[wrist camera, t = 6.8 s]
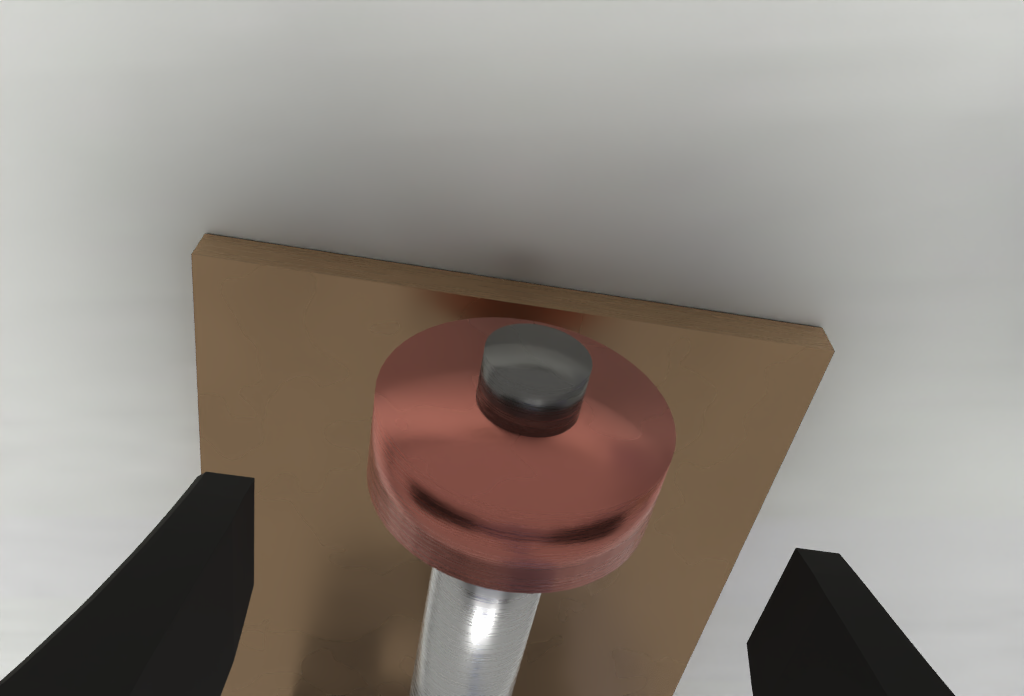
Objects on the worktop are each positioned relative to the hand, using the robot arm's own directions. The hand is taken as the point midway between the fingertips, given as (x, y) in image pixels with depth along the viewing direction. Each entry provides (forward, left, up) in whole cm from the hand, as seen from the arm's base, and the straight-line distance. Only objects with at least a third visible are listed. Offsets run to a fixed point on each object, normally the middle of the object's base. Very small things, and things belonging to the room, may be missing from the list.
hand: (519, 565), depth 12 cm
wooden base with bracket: (-8, 0, -7) cm, 11 cm away
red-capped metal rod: (-4, 0, -5) cm, 6 cm away
